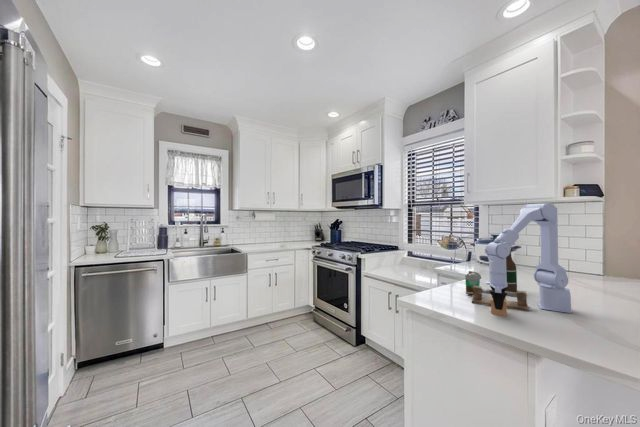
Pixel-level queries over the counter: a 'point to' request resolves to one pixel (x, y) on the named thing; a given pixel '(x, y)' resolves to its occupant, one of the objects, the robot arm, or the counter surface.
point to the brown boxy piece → (518, 305)
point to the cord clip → (499, 312)
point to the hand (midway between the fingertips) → (498, 306)
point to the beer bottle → (511, 274)
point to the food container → (472, 281)
